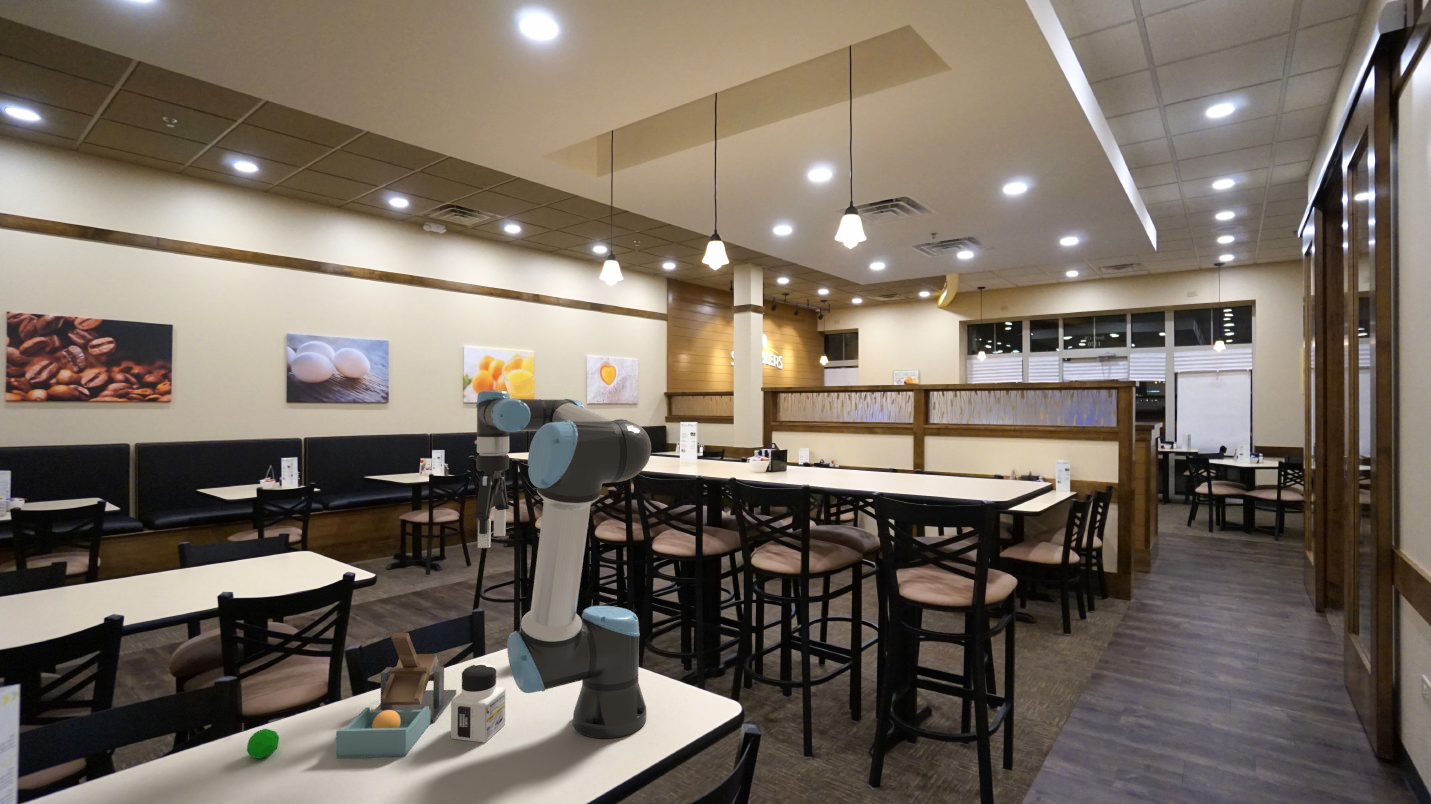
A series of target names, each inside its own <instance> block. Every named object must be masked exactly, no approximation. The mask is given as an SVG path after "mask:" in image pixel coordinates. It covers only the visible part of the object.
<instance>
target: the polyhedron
mask: <svg viewBox="0 0 1431 804" xmlns="http://www.w3.org/2000/svg"><path fill="white" fill-rule="evenodd" d="M279 741H280V736H279V735H278V733H277V731H276V730H272V729H268V728H262V729H260V730H256V732H254V733H253V734H252V735H251V736H250V737H249V739H248V743H247V747H246V752H247V753H248V756H249V757H253V758H257V759H260V760H263V759H264V757H265V758H268V757H270V756H271V755H273V753H275V751H276V750H277V748H278V747H279ZM267 756H268V757H267Z"/></svg>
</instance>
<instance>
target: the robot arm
mask: <svg viewBox="0 0 1431 804" xmlns="http://www.w3.org/2000/svg"><path fill="white" fill-rule="evenodd" d="M476 397H477V399H476V406H475V407H476V440H474V444H475V445H476V452H477V453H478V455H477V456H476V467H475V469H476V470H477V471H479V472H484V474H483V476H480V477H479V481H478V482H479V485H478V486H479V487H478V493H477V499H476V505H475V511H474V512H475V513H474V516H473V520H474V521H477V549H489V548H491V533H492V532H491V531H492V530H491V527H492V525H491V523H492V520H491V519H490V516H491V512H492V511H491V510H492V507H493V506H492V505H494V508H495V509H494V510H493V537H506V522H507V521H506V513H507V512H506V510H509V509H510V504H509V500H508V493H507V486H506V472H505V471H507V470H509V469H510V455H508V453H509V452H510V433H516V432H535V431H536V432H535V434H534V436H533V438H532V440H531V442H530V446H529V451H528V457H527V465H528V469H527V470H528V472H527V473H528V477H529V480H530V482H531V484H532V485H534V487H536V492H537V493H538V495H539V497H540V498H541V499H542V500H543V504H542V505H543V507H542V514H541V523H540V532H539V540H538V548H537V556H536V564H535V572H534V580H533V582H534V583H533V591H532V597H531V598H532V600H531V604H530V605H531V606H530V610H529V611H528V612H526V613H525V614H524V616H523V617H522V619H521V622H520V630H519V631H517V630H515V631H514V632H511V633H510V634H509V636H507V641H506V642H507V644H506V646H507V647H506V651H507V658H508V663H509V668H510V671H511V674H512V678H513V680H514V682H515V684H516V686H517V688H518V689H519V690H520V691H521V692H523V693H524V694H531V693H532V694H533V693H539V692H545V691H547V690H549V689H554V688H557V687H561V686H565V685H568V684H569V685H570V684H573V683H576V682H580V681H582V682H581V688H580V690H579V694H578V696H577V701H576V704H575V707H574V710H573V716H572V717H573V718H572V719H573V722H572V725H573V728H574V729H575V730H576V732H578V733H579V734H581V735H583V736H585V737H589V738H593V739H594V738H596V739H613V738H621V737H625V736H627V735H628V736H629V735H631V734H633V733H636V732H637V731H639V730H640V729H642V727H644V726H645V724H646V722H647V705H646V702H645V699H644V696H643V693H642V690H641V687H640V683H639V663H640V662H639V659H640V658H639V657H640V656H639V652H640V651H639V650H640V649H639V648H640V647H639V645H640V643H639V642H640V626H639V625H640V623H639V619H638V616H637V615H636V613H635V612H633V611H631V610H629V609H627V608H623V607H619V606H611V605H593V606H588V607H587V608H585V609H584V610H583V611H582V613H581V616H580V615H578V613H577V607H578V601H579V594H580V586H581V579H582V570H583V563H584V556H585V551H586V550H585V549H586V542H587V534H588V528H589V519H590V513H591V512H590V511H591V507H592V506H591V505H592V504H594V503H595V502H596V501H598V500H599V499H600V497H601V492H602V485H603V484H609V483H620V482H624V481H628V480H629V479H632V478H634V477H636V476H638V474H640V473H641V472H642V471H643V470H644V468H646V466H647V465H648V462H649V460H650V457H651V454H652V444H651V439H650V436H649V435H648V433H647V431H646V430H645V429H644V428H643V427H642V426H640V425H639V424H637V423H635V422H633V421H630V420H627V419H624V418H623V419H622V418H618V419H617V418H616V419H612V418H609V417H606V416H604V415H601V414H599V413H596V412H593V411H590V410H588V409H587V408H585V405H584V404H583V402H582V401H581V400H578V399H570V398H565V399H539V398H510V393H509V392H508V391H507V390H481V391H479V392H478V393H477V396H476Z"/></svg>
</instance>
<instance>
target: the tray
mask: <svg viewBox="0 0 1431 804" xmlns="http://www.w3.org/2000/svg"><path fill="white" fill-rule="evenodd" d="M383 711H386V710H375V709H374V710H371V707H370V706H369V707H365V708H364V709H362V711H360V712H359V713H358V714H357V716H356V717H354V718H353V720H351V721H350V723H348V725H346V727H344V728H337V730H336V735H335V758H336V759H353V758H354V759H355V758H356V759H358V758H391V757H392V758H395V757H396V758H397V757H399V758H400V757H402V758H403V757H406V756H407V755H408V754H409V752H410V751H411V750H412V749H413V747H414V746H415V745H416V744H417V741H419V740H420V738H421V737H422V736H423V734H424V733H425V732H426V730H427V729H428V727H430V725H431V723H430V709H429V706H425V707H424V708H423V709H422V710H393V711H395V712H397V713H398V715H399V716H400V720H401V723H400V727H399V728H372V724H373V721H374V719H375V718H376V716H377V715H378V714H379V713H381V712H383Z"/></svg>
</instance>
